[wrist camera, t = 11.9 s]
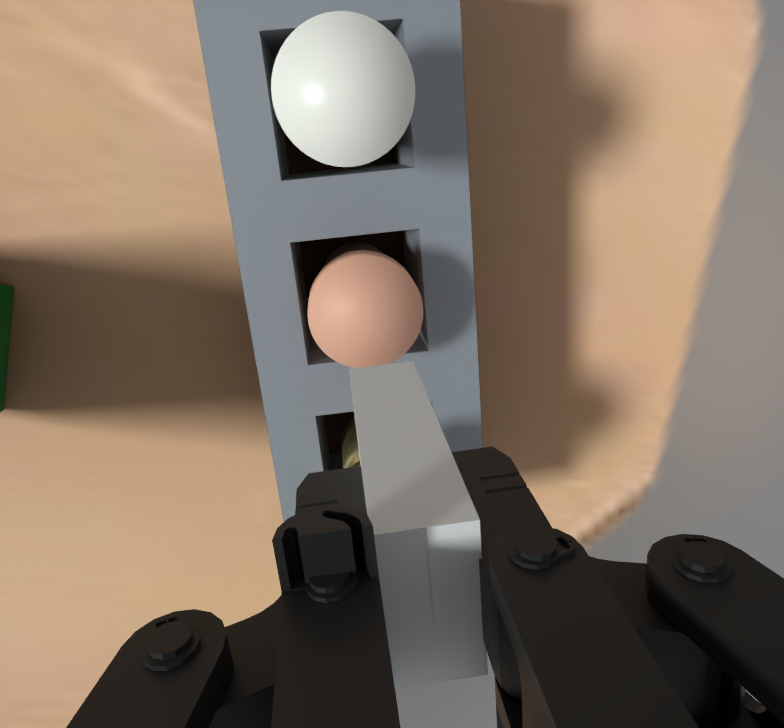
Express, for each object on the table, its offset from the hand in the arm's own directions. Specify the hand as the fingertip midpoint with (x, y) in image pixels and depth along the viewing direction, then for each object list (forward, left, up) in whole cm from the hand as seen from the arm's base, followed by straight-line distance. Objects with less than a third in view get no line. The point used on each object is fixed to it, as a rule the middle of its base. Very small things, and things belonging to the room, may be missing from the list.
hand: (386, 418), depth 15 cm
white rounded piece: (-8, 0, -16) cm, 18 cm away
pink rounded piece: (0, 0, -18) cm, 18 cm away
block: (0, 0, -21) cm, 21 cm away
